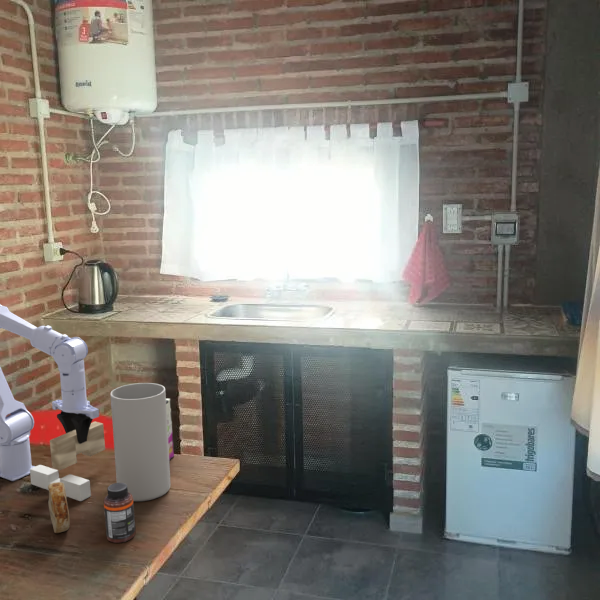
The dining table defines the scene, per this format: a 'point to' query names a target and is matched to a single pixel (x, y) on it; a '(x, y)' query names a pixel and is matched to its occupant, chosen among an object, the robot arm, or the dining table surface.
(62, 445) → the light wood plank
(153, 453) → the cylinder vase
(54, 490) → the toasted sandwich
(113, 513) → the supplement bottle
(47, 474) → the white building blocks
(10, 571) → the dining table surface
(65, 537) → the dining table surface
